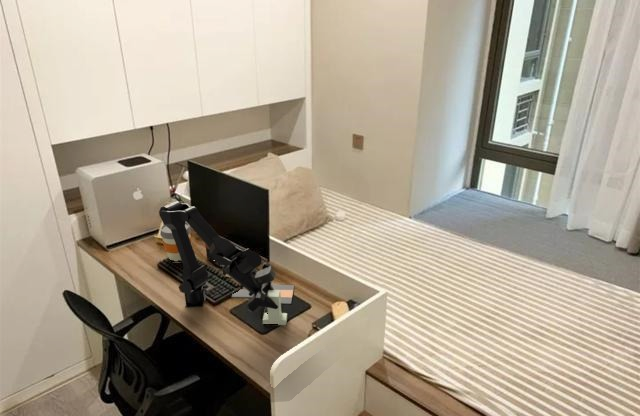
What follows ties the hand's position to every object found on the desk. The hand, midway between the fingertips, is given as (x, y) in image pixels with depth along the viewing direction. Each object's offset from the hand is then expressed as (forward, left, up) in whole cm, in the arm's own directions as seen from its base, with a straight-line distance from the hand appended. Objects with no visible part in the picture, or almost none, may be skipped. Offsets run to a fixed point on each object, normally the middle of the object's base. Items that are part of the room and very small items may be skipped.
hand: (278, 304), depth 153 cm
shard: (-21, +34, -8) cm, 41 cm away
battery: (-28, +46, -7) cm, 55 cm away
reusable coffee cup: (-44, +49, -7) cm, 67 cm away
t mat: (-7, +17, -7) cm, 20 cm away
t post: (-1, 0, -7) cm, 7 cm away
